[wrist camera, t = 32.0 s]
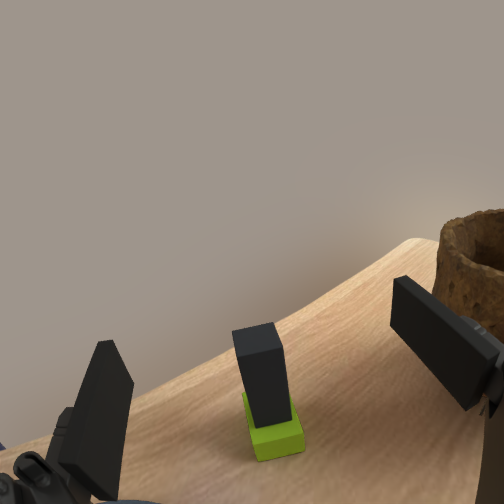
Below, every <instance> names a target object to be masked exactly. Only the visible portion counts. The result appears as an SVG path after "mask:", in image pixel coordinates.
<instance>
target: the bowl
mask: <svg viewBox="0 0 504 504" xmlns="http://www.w3.org/2000/svg"><path fill="white" fill-rule="evenodd" d="M432 295H433V296H434V297H435V298H437V299H438V300H439V301H441V302H442V303H443V304H444V305H446V306H447V307H448V308H449V309H451V310H452V311H453V312H454V313H456V314H457V315H458V316H459V317H460V316H462V315H464V316H467V317H469V318H471V319H473V320H475V321H476V322H477V323H478V324H480V325H481V327H483V328H485V329H486V330H487V332H489V333H491V334H492V335H493V336H494V337H495V338H497V339H498V340H499V341H500V342H501V343H502V344H504V209H497V210H490V209H489V210H487V211H484V212H482V211H477V212H475V213H473V214H471V215H469V216H466V217H464V218H455V219H454V220H450V221H448V222H447V223H446V224H444V226H443V228H442V230H441V233H440V243H439V248H438V252H437V268H436V279H435V283H434V287H433V290H432ZM483 396H485V397H487V396H486V395H485V394H484V393H483Z"/></svg>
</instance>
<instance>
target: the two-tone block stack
mask: <svg viewBox="0 0 504 504" xmlns="http://www.w3.org/2000/svg"><path fill="white" fill-rule="evenodd" d="M232 335H233V341H234V347H235V352H236V357H237V361H238V365H239V369H240V373H241V377H242V380H243V384H244V388H245V392H243V393H242V396H243V401H244V406H245V411H246V416H247V421H248V426H249V431H250V435H251V440H252V445H253V448H254V451H255V454H256V457H257V460H258V462H261V461H265V460H270V459H274V458H279V457H283V456H287V455H291V454H295V453H299V452H302V451H305V442H304V432H303V429H302V426H301V424H300V421H299V418H298V415H297V413H296V410H295V407H294V404H293V402H292V399H291V396H290V393H289V388H288V380H287V372H286V365H285V357H284V350H283V345H282V343H281V340H280V338H279V335H278V333H277V330H276V328H275V325H274V323H273V322H271V323H266V324H262V325H258V326H253V327H248V328H244V329H239V330H235V331H232Z"/></svg>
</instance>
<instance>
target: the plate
mask: <svg viewBox="0 0 504 504" xmlns="http://www.w3.org/2000/svg"><path fill="white" fill-rule="evenodd" d="M97 504H160V503H155V502H149V501H139V500H118V501H117V502H115V501H108V502H103V503H97Z"/></svg>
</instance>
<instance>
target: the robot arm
mask: <svg viewBox="0 0 504 504" xmlns="http://www.w3.org/2000/svg"><path fill="white" fill-rule="evenodd" d="M390 327H391V328H392V329H393V330H394V331H395V332H396V333H397V334H398V335H399V336H400V337H401V338H402V340H403V341H404V342H405V343H406V344H407V345H408V346H409V347H410V348H411V349H412V350H413V352H414V353H415V354H416V355H417V356H418V357H419V358H420V359H421V361H422V362H423V363H424V364H425V365H426V366H427V367H428V368H429V370H430V371H431V372H432V373H433V374H434V375H435V376H436V377H437V379H438V380H439V381H440V382H441V383H442V384H443V386H444V387H445V388H446V389H447V390H448V391H449V392H450V394H451V395H452V396H453V397H454V398H455V400H456V401H457V402H458V403H459V404H460V405H461V407H462V408H463V409H464V410H465V411H467V410H469V409H470V408H472V407H473V406H475V405H476V404H478V403H479V401H480V399H481V397H482V395H483V393H484V394H485V395H486V396H487V399H486V401H485V403H484V405H483V407H482V409H481V411H480V414H479V415H480V416H482V414H483V412H484V410H485V429H484V443H483V454H482V463H481V471H480V478H479V484H478V490H477V496H476V501H475V504H504V344H502V343H501V342H500V341H499V340H498V339H497V338H495V337H494V336H493V335H492V334H491V333H489V332H487V330H486V329H485V328H483V327H481V325H480V324H478V323H477V322H476V321H475V320H473V319H471V318H469V317H467V316H464V315H462V316H460V317H459V316H458V315H457V314H456V313H454V312H453V311H452V310H451V309H449V308H448V307H447V306H446V305H444V304H443V303H442V302H441V301H439V300H438V299H437V298H435V297H434V296H433V295H432V294H430V293H429V292H428V291H426V290H425V289H424V288H423V287H421V286H420V285H419V284H417V283H416V282H415V281H413V280H412V279H411V278H409V277H408V276H407V275H405V276H402V277H398V278H395V279H394V281H393V297H392V309H391V320H390ZM133 388H134V382H133V380H132V378H131V376H130V374H129V373H128V371H127V369H126V367H125V364H124V362H123V360H122V358H121V356H120V354H119V352H118V350H117V348H116V346H115V343H114V341H113V340H107V341H100V342H98V343H97V346H96V349H95V351H94V353H93V356H92V358H91V361H90V364H89V366H88V369H87V371H86V374H85V377H84V379H83V382H82V385H81V388H80V390H79V393H78V396H77V399H76V402H75V405H74V407H66V408H65V410H64V411H63V412H62V414H61V415H60V416H59V418H58V422H57V424H56V428H55V430H54V433H53V435H54V436H52V439H51V442H50V445H49V448H48V452H47V455H46V458H45V460H44V459H43V458H42V457H41V456H40V455H39V454H38V453H36V452H34V451H28V452H25V453H22V454H21V455H20V456H19V457H18V458H17V459H16V461H15V463H14V467H13V470H14V474H15V475H16V476H17V477H18V478H19V480H13V479H12V478H11V477H10V476H9V475H8V474H5V473H0V504H93V503H92V502H91V501H90V500H91V494H92V495H93V496H95V497H96V498H97V499H98V500H101V501H115V502H117V501H118V490H119V481H120V472H121V464H122V456H123V449H124V441H125V435H126V428H127V422H128V416H129V410H130V404H131V398H132V393H133Z"/></svg>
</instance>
